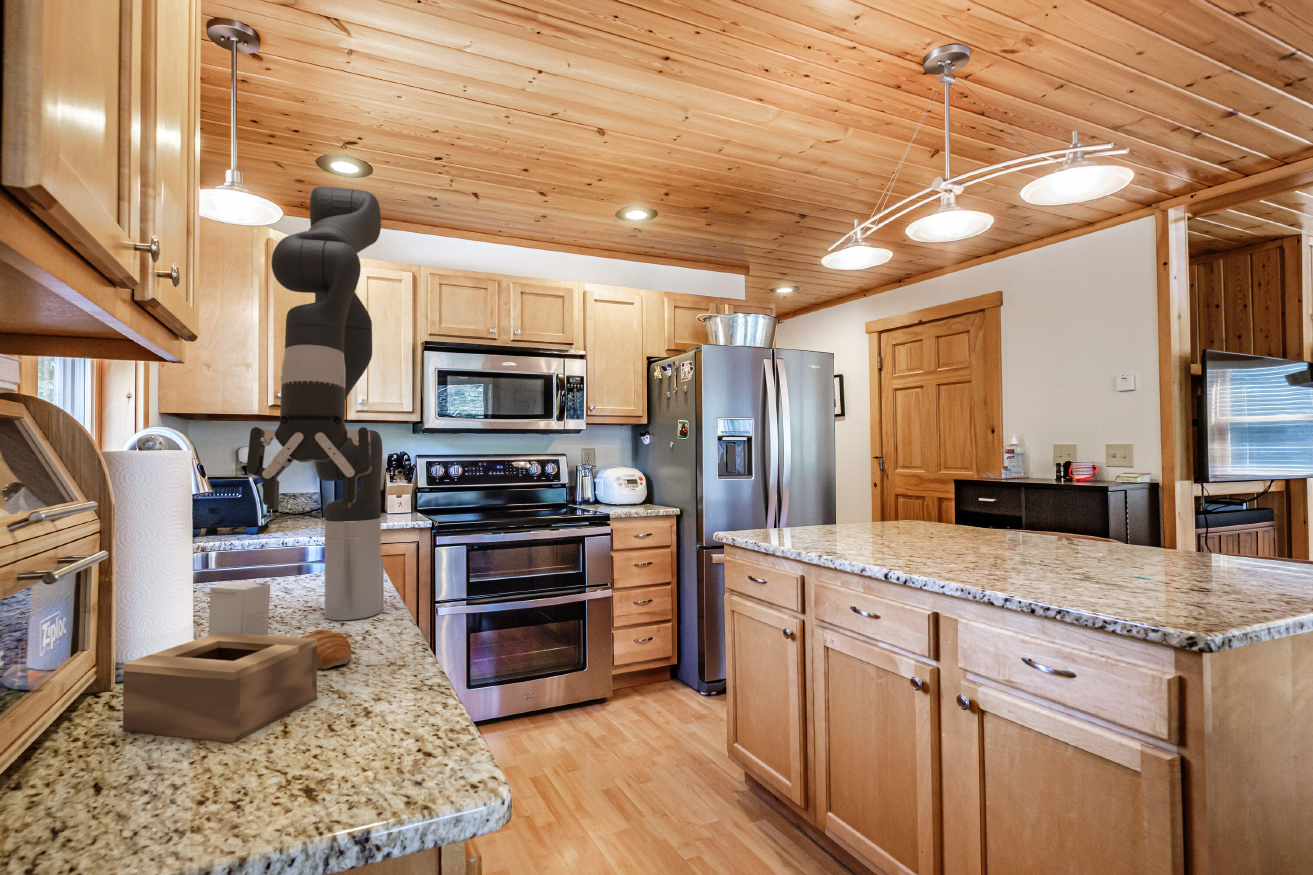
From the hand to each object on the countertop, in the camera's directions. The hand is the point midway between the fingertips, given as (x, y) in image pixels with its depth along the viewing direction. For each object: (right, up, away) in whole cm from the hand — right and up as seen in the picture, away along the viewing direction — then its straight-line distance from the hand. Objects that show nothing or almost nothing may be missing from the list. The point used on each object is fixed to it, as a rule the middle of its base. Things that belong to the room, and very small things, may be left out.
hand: (310, 508), depth 85 cm
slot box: (-4, -22, -10) cm, 25 cm away
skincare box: (-11, -23, +3) cm, 25 cm away
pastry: (-2, -23, +9) cm, 25 cm away
